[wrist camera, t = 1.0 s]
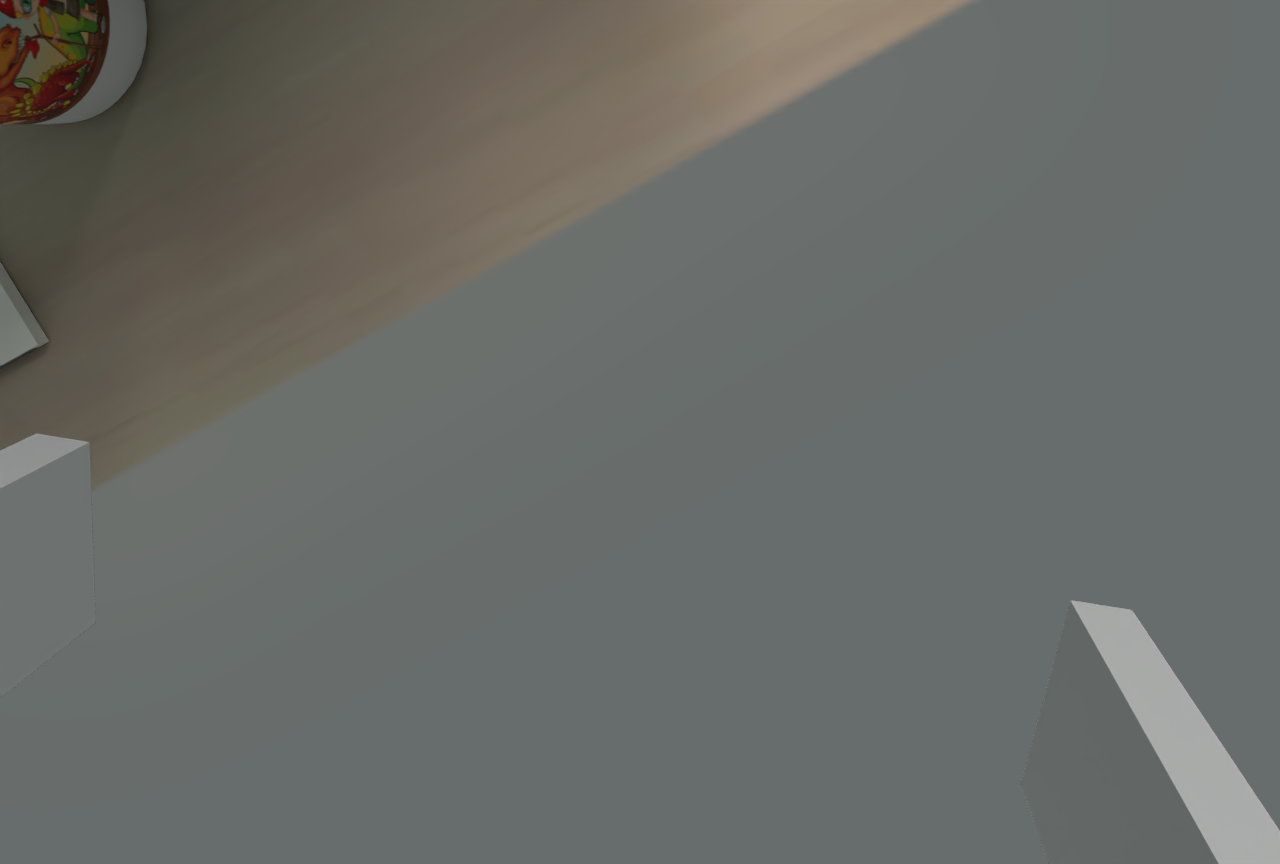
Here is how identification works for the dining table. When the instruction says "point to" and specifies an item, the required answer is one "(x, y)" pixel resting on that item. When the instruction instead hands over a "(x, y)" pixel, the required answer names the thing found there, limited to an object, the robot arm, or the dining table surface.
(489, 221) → the dining table surface
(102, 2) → the milk bottle
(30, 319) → the mat
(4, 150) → the dining table surface
